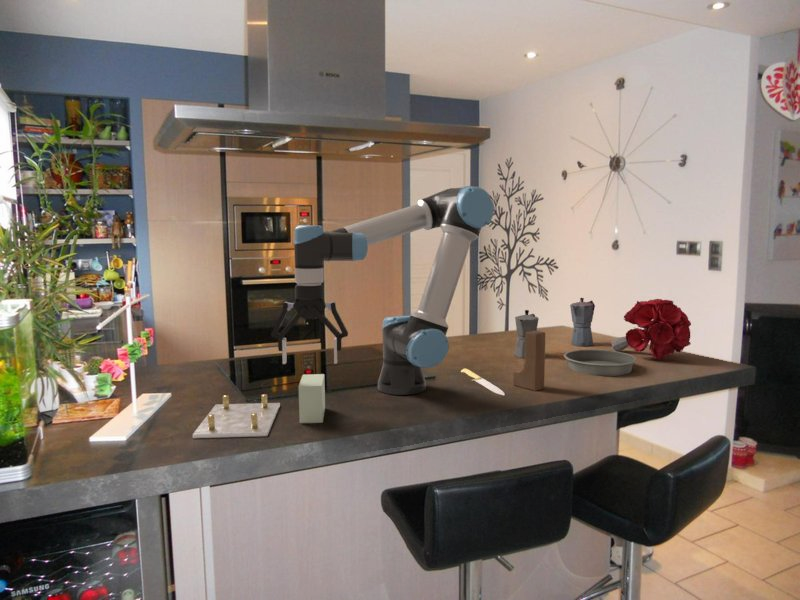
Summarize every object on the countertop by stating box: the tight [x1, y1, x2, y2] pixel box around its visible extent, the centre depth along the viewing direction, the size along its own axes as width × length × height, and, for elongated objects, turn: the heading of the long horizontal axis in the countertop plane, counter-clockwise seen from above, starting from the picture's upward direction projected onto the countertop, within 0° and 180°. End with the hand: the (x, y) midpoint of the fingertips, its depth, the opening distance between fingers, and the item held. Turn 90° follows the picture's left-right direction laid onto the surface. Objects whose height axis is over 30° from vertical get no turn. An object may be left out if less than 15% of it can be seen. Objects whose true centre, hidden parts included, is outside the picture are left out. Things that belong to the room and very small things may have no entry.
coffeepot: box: [514, 309, 539, 359], centre depth 232 cm, size 15×9×18 cm, turn 149°
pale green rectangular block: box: [298, 373, 326, 424], centre depth 162 cm, size 6×12×10 cm, turn 4°
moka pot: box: [569, 297, 596, 347], centre depth 252 cm, size 10×15×20 cm, turn 133°
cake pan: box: [563, 348, 638, 377], centre depth 212 cm, size 25×25×4 cm
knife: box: [460, 368, 505, 396], centre depth 195 cm, size 1×32×5 cm
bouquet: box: [611, 298, 692, 361], centre depth 228 cm, size 22×24×30 cm
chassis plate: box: [192, 393, 281, 439], centre depth 158 cm, size 18×24×4 cm
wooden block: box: [512, 330, 546, 392], centre depth 188 cm, size 9×4×18 cm, turn 39°
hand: (310, 362), depth 160 cm, fingers open, 13 cm apart
